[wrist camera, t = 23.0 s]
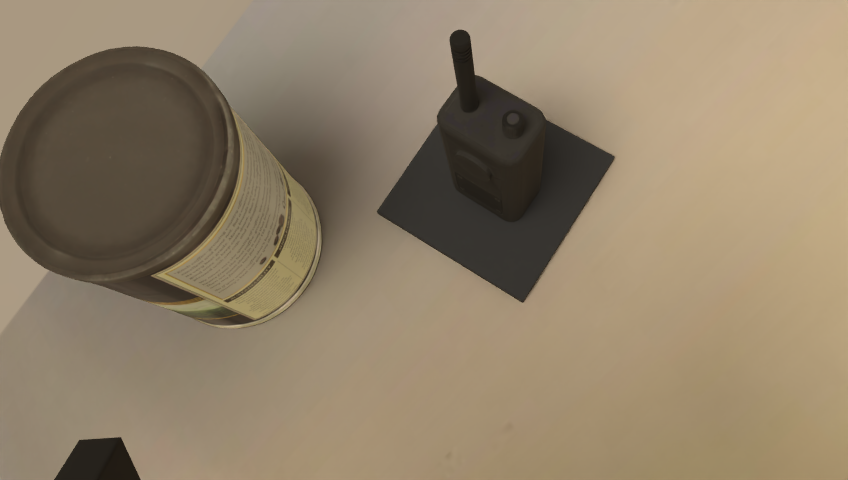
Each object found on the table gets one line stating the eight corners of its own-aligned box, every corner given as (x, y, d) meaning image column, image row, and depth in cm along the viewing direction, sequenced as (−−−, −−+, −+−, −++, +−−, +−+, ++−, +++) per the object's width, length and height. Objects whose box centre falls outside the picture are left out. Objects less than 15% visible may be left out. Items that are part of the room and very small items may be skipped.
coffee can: (179, 354, 41) (14, 316, 28) (144, 198, 44) (-20, 93, 31) (345, 296, 41) (260, 227, 27) (299, 141, 44) (201, 11, 30)
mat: (377, 213, 42) (376, 211, 41) (469, 81, 43) (468, 78, 43) (522, 302, 39) (522, 301, 39) (614, 159, 41) (614, 156, 41)
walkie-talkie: (545, 183, 41) (559, 47, 26) (512, 231, 40) (509, 118, 26) (475, 142, 42) (453, -10, 27) (443, 188, 41) (403, 57, 27)
